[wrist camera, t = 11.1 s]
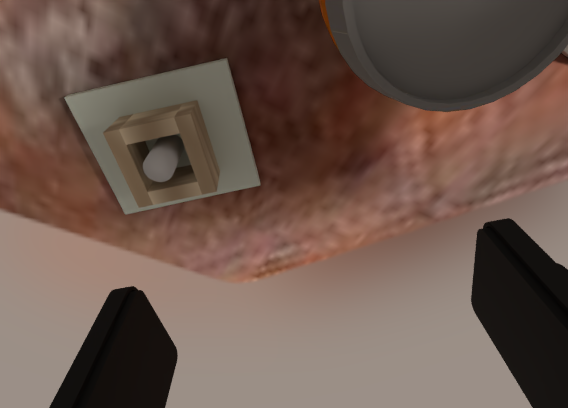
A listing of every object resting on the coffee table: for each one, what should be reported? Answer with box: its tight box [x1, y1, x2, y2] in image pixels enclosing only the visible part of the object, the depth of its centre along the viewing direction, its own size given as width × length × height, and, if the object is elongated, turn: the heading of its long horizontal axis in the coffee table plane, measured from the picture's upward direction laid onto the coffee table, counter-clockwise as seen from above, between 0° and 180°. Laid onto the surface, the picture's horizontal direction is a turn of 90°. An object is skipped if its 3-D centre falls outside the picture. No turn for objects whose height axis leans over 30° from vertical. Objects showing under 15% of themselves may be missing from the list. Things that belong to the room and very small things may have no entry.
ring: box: [103, 100, 220, 208], centre depth 31 cm, size 7×7×4 cm
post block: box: [64, 58, 260, 215], centre depth 31 cm, size 14×12×6 cm
